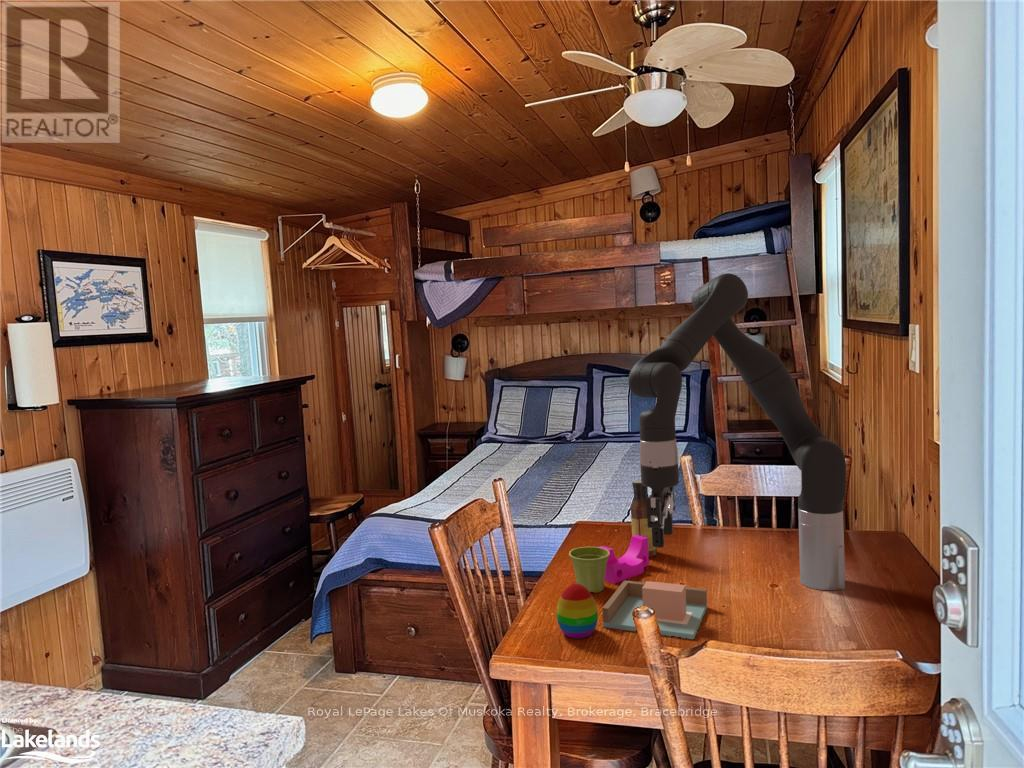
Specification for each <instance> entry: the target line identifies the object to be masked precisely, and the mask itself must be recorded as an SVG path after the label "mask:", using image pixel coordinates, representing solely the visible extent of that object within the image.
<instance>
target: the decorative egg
mask: <svg viewBox="0 0 1024 768" xmlns="http://www.w3.org/2000/svg"><path fill="white" fill-rule="evenodd" d="M557 601H558V602H557V605H556V606H557V607H556V619H557V625H558V626H559V628H560V630H561V632H562V633H563V635H565V636H566V637H568V638H571V639H578V640H579V639H584V638H585V639H586V638H587V637H590V636H591V635H592V634H593V633H594V631H595V630H596V627H597V625H598V624H597V623H598V618H599V617H598V616H599V613H598V606H597V603H596V600H595V599H594V597H593V595H592V592H589V590H588V589H587V588H586V587H584V586H583V585H581V584H577V582H576V583H571V584H570V585H568V586H567V587H566V588H565V589H564V590H563V591H562V593H561V594H560V596H559V599H558V600H557Z"/></svg>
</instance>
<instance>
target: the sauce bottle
mask: <svg viewBox="0 0 1024 768" xmlns="http://www.w3.org/2000/svg"><path fill="white" fill-rule="evenodd" d="M631 484H632V485H631V486H632V490H633V500H632V502H631V504H630V523H631V535H632V536H634V535H639V536H643V537H647V538H648V554H649V558H652V557H654V556H655V557H656V555H657V554H658V547H654V546H653V544H652V528H648V525H647V524H648V517H647V497H649V491H648V488H649V487H645V486H643V485H642V483H641V479H634V480H632V483H631ZM654 522H656V518H655V519H654Z"/></svg>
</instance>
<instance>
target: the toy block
mask: <svg viewBox="0 0 1024 768" xmlns="http://www.w3.org/2000/svg"><path fill="white" fill-rule="evenodd" d="M599 547H600V548H604V549H606V550H608V551H609V552H610V555H609V556H608V561H607V563H606V571H605V581H604V582H608V583H611V584H614V585H615V584H617V583H620V582H623V581H624V580H625V581H626V580H629V579H630V578H632V577H633V578H634V577H636V576H638V575H641V574H643V573H644V572H645V571H644V569H645V567H648V566H650V559H649V558H650V557H649V554H648V538H647V537H643V536H639V535H634V536H630V543H629V546H628V548H627V550H626V552H625V553H624V554H623V555H622V556H620V557H619V558H618V557H616V555H615V552H614V549H613V548H611V547H608V546H604V545H601V546H599Z"/></svg>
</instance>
